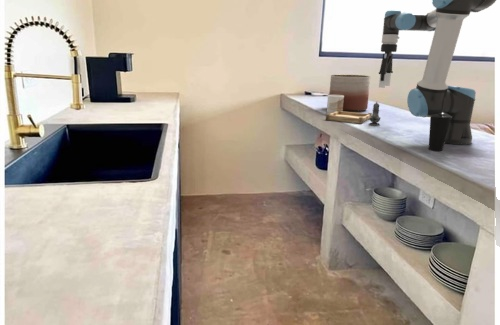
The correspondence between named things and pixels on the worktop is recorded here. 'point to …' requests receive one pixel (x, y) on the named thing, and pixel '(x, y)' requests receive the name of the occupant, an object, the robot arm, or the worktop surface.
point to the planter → (351, 91)
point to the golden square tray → (348, 117)
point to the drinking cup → (438, 129)
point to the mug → (335, 103)
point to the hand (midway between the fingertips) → (384, 86)
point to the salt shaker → (375, 115)
